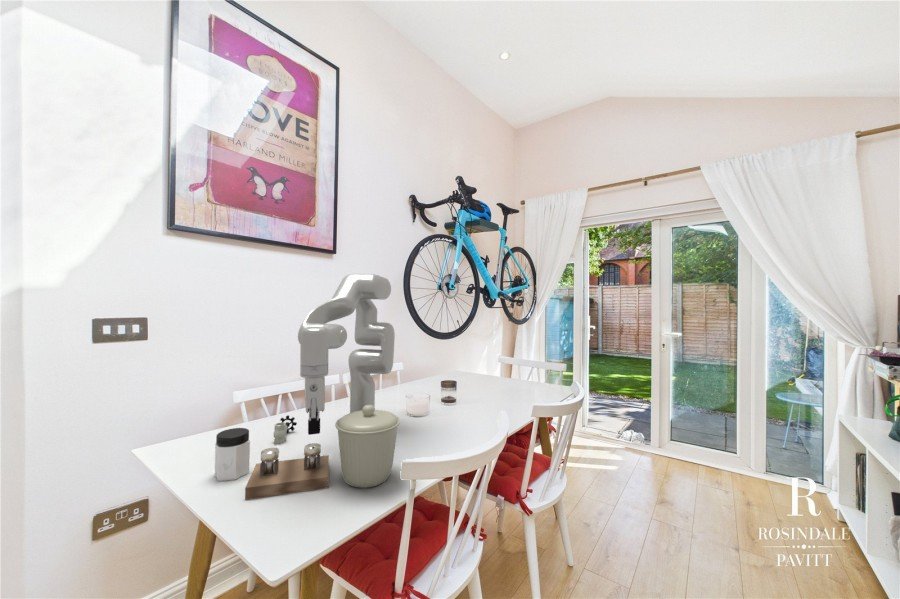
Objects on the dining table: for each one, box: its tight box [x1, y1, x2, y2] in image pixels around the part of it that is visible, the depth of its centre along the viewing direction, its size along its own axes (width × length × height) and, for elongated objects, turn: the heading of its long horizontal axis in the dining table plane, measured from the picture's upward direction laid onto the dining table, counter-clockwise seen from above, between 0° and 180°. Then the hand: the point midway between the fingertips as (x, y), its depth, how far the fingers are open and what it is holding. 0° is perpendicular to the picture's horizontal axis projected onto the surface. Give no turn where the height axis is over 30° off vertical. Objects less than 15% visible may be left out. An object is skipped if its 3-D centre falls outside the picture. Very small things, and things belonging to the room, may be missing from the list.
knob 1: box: [260, 447, 280, 474], centre depth 97 cm, size 4×4×6 cm
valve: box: [273, 415, 298, 445], centre depth 130 cm, size 7×7×12 cm
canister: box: [334, 405, 401, 489], centre depth 101 cm, size 18×18×21 cm
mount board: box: [244, 453, 330, 501], centre depth 99 cm, size 20×14×6 cm
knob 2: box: [303, 442, 322, 469], centre depth 101 cm, size 4×4×6 cm
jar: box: [214, 427, 251, 482], centre depth 102 cm, size 9×8×12 cm
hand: (314, 432), depth 102 cm, fingers closed
